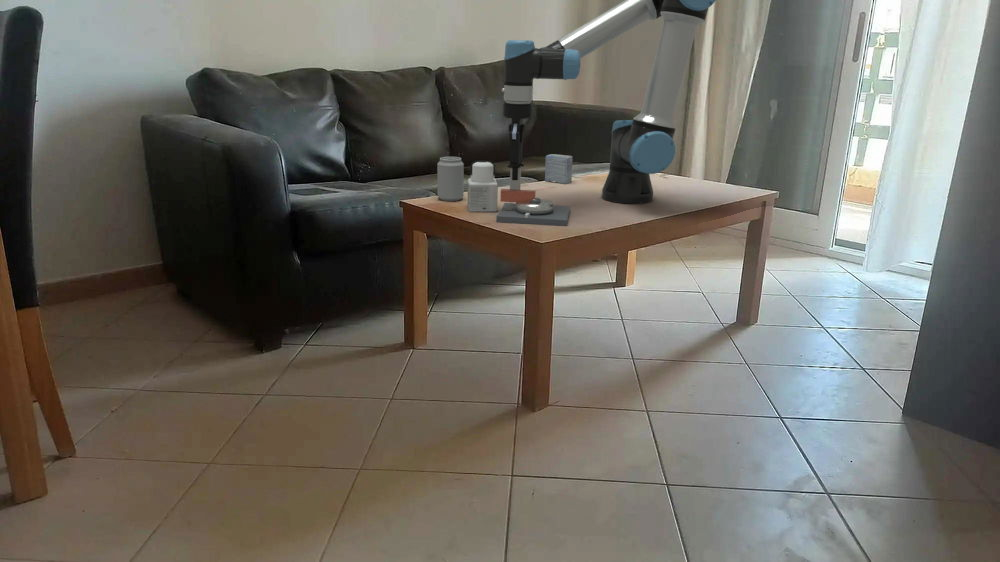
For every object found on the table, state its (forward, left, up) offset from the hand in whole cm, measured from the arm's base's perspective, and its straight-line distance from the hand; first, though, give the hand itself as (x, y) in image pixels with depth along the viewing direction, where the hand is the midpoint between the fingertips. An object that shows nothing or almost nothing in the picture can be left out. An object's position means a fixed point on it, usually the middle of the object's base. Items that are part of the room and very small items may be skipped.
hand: (515, 191), depth 196 cm
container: (+9, 0, -6) cm, 11 cm away
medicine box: (-9, -44, -6) cm, 45 cm away
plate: (-6, +6, -5) cm, 10 cm away
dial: (-4, +6, -4) cm, 8 cm away
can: (+20, -10, -6) cm, 23 cm away
